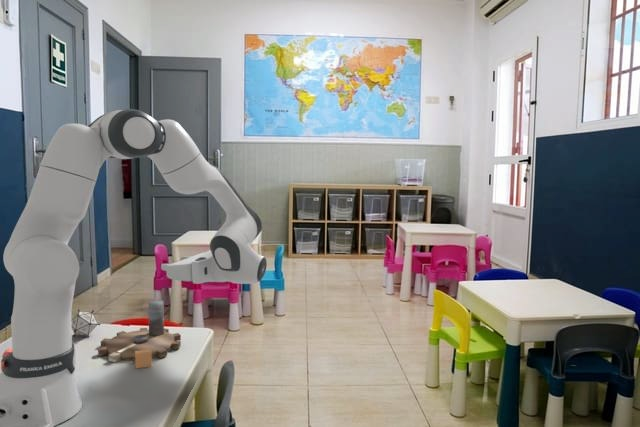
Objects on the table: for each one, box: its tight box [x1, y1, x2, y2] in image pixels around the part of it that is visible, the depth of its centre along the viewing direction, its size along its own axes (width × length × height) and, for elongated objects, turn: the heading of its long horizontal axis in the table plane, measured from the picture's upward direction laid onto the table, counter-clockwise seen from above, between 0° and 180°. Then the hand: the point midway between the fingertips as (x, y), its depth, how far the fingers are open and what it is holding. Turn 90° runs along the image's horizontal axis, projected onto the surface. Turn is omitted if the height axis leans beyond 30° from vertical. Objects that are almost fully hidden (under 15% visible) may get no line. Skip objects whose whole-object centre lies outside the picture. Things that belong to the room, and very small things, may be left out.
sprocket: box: [97, 299, 182, 363], centre depth 138 cm, size 23×23×12 cm
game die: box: [71, 309, 101, 339], centre depth 146 cm, size 9×8×10 cm
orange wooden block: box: [134, 349, 153, 369], centre depth 126 cm, size 4×2×4 cm, turn 114°
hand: (172, 263), depth 139 cm, fingers open, 8 cm apart
